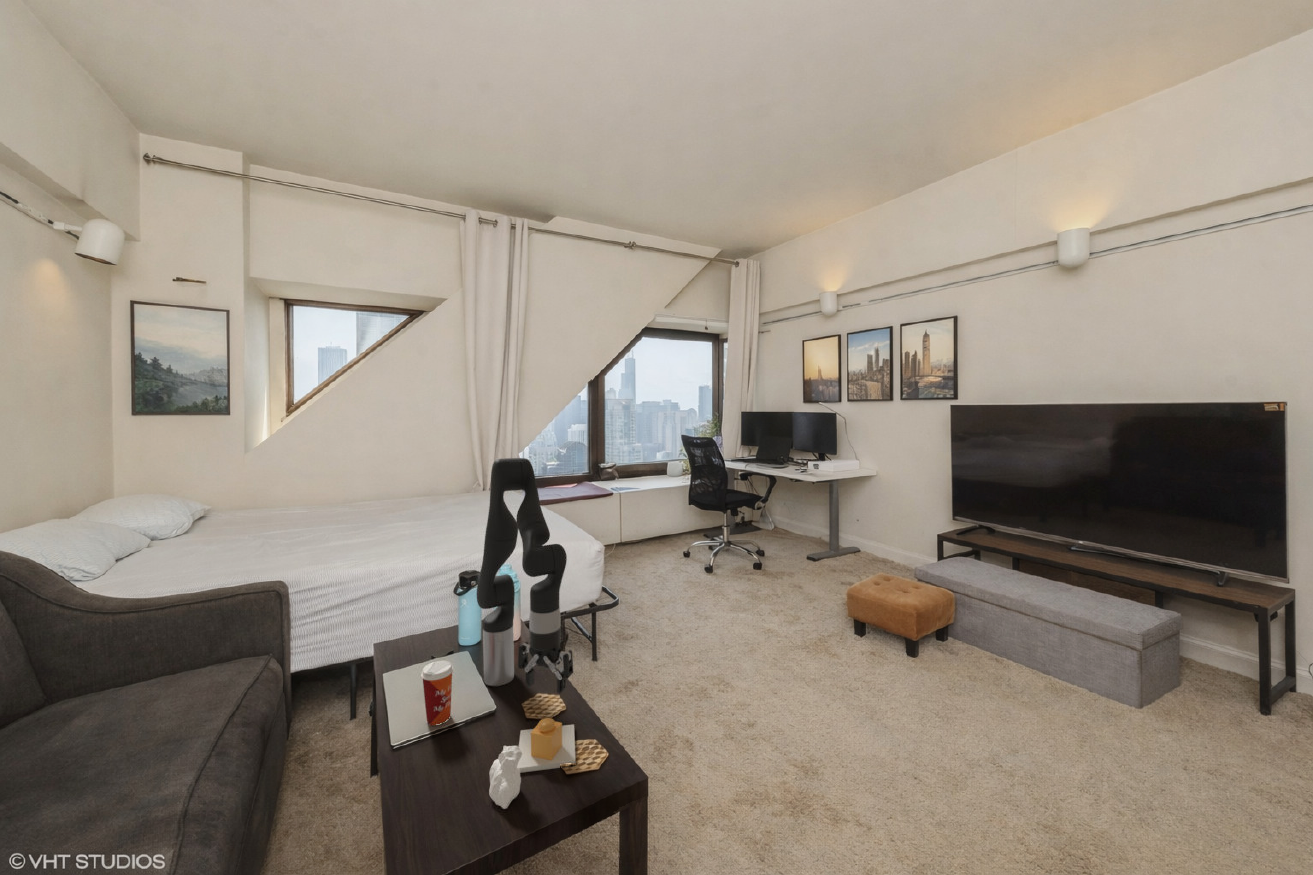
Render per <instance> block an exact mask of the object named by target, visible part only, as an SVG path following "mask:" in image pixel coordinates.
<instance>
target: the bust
mask: <svg viewBox="0 0 1313 875" xmlns="http://www.w3.org/2000/svg"><path fill="white" fill-rule="evenodd" d="M502 748H503V749H502V751H501V753H499V754H498V758H497V759H495V760H494V761H493V763H492V765H491V767H490V769H489V772H488V773H489V784H490V786H489V791H488V795H489V797H490V798H491V800H492V801H493V802H494V803H495V805H496V806H500V807H501V809H503V810H506V809H508V807H509V805H510V804H511V802H512V801H513V800H514V799H516V798H517V797H518V795H519V793H520V789H521V782H522V778H521V773H520V770H519V768H518V767H517V765H518V762H519V760H520V758H521V756H522V752H521V751H520V749H519V745H508V746H507V745H503V747H502Z"/></svg>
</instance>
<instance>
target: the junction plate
mask: <svg viewBox="0 0 1313 875" xmlns="http://www.w3.org/2000/svg"><path fill="white" fill-rule="evenodd" d="M533 730H534V728H529V729H521V730H520V734H519V742H518V747H519V749H520V751H521V752H522V756H521V758H520V760H519V762H518V765H517V767H518V768H519V770H520V774H521V773H527V772H536V771H543V770H544V771H545V770H551V769H560V764H564V763H575V764H576V745H575V744H576V741H575V740H576V739H575V724H565V725H562V746H561V748H560V749H559V751H558V752H557V754H556V755H555V756H554V758H553V759H552V761H551V760H547V759H542V758H538V757H534V756H531V732H532V731H533Z"/></svg>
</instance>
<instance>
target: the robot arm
mask: <svg viewBox="0 0 1313 875" xmlns="http://www.w3.org/2000/svg"><path fill="white" fill-rule="evenodd" d="M490 473H491V474H490V487H489V488H490V490H489V506H488V514H487V523H486V527H485V534H484V542H483V543H484V544H483V556H482V563H481V567H480V572H479V577H478V580H477V581H478V582H477V586H476V602H477V605H478V607H479V608H480V609H483V610H488V609H489V610H490V609H493V608H495V609H494V610H493V611H491V612H490V613H489V614H487V615H486V616H485V617H484V618H483V620H482V641H483V642H482V644H483V647H482V648H483V652H482V653H483V682H484V683H485V685H487V686H491V687H500V686H503V685H506V684H509V683H510V682H512V681H513V680H514V678H515V652H514V651H515V648H514V647H515V646H514V641H515V640H514V639H515V638H514V618H515V598H516V597H515V594H516V593H515V582H514V580H513V577H512V576H511V575H510V574H501V575H497V574H498V572H499V570H500V569H501V568H502V566H504V564H505V563H506V562H507V561H508V559H510V557H511V556H512V554H513V552H514V551H515V549H516V546H517V540H518V534H519V535H520V538H521V541H522V542H521V543H522V560H521V561H522V570H523V572H524V573H525V574H526V575H527V576H528V577H531V578H536V577H542V576H546V577H545V578H544V579H542V580H541V581H539V582H536V583H534V584H533V585H532V586H531V587H530V592H529V607H530V608H529V619H528V622H529V623H528V624H529V629H528V631H529V633H528V634H529V636H528V637H529V642H528V641H524V642H523V643H522V644H520V645H519V646H518V661H517V663H518V664H517V668H518V669H519V670H524V672H525V684H526V686H527V687H529V688H531V687H532V686H533V685H534V684H535V683H536V682H535V668H534V667H535V666H536V664H537V666H538V667H544V668H547V669H550V671H551V672H552V673H553V674H555V676H556V678H557V680H556V686H557V687H556V692H557V694H559V695H560V694H562V693H563V692H564V691H565V690H566V689H567V680H568V679H569V678H570V677H571V676H572V675H573V674H574V661H573V651H572V650H570V649H569V650H568V651H563V650H562V649H561V640H562V639H561V634H562V631H561V622H562V621H561V619H562V618H561V617H562V616H561V610H560V609H561V608H560V591H561V590H560V589H561V585H562V580H563V578H564V573H565V571H566V570H565V569H566V566H567V560H568V558H567V552H566V550H565V548H564V547H563V546H562V545H561V544H559V543H551V544H547V543H548V541H549V540H550V537H551V534H550V533H551V532H550V530H549V527H548V523H547V521H546V518H545V516H544V513H543V510H542V507H541V501H540V497H539V496H540V495H539V490H538V485H537V480H536V474H535V471H534V468H533V465H532V463H531V461H530V460H529V459H528V458H525V457H511V458H510V457H508V458H505V457H503V458H498V459H495V460H494V462H493V463H492V466H491V472H490ZM509 491H510V492H512V491H513V492H514V491H523V492H524V497H523V499H522V501H521V503H520V506H519V508H518V511H517V513H516V518H515V516H514V515H513V514H512V512H511V511H510V510H509V508H508V506H507V504H506V502H505V498H504V494H505V492H509ZM545 544H546V545H545ZM529 653H530V655H531V657H532V658H531V659H530V660H529ZM555 664H556V665H555Z"/></svg>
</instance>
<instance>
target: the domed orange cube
mask: <svg viewBox="0 0 1313 875" xmlns="http://www.w3.org/2000/svg"><path fill="white" fill-rule="evenodd" d="M562 726H563V723H562V722H559V721H555V720H554V719H553V718H551V717H550V718H549V717H546V718H541V720H539V722H538V723H537V725H536V726H535V727H534V728H533V729H534V730H533V731H532V732H531V756H534V757H538V758H542V759H547V760H551V761H552V759H553V758H554V756H555V755H556V754H557V752H558V751H559V749H560V748H561V746H562Z"/></svg>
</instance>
